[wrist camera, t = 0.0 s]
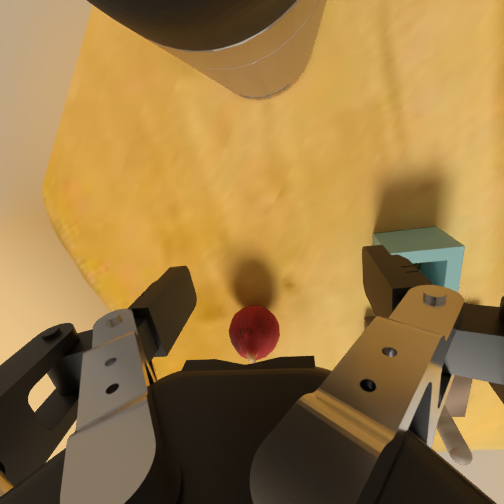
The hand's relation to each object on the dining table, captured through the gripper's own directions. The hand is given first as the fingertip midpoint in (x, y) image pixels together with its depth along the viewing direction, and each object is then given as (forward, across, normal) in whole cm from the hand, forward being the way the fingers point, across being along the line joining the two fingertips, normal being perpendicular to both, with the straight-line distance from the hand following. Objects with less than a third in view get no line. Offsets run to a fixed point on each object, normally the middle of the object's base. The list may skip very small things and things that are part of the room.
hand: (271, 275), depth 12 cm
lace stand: (+18, -14, +24) cm, 33 cm away
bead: (+18, -12, +8) cm, 23 cm away
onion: (+18, +5, +14) cm, 23 cm away
